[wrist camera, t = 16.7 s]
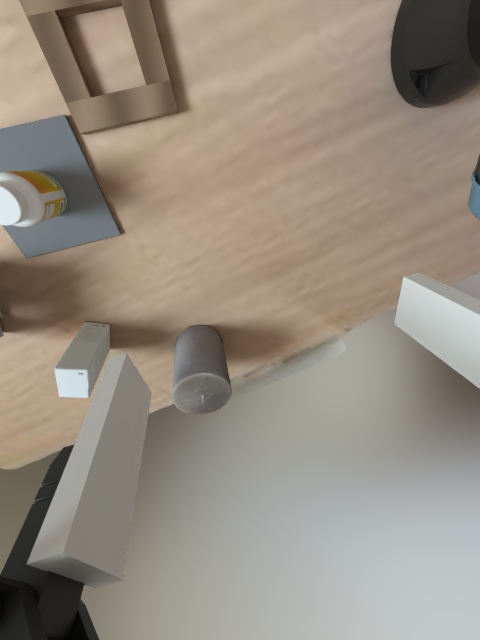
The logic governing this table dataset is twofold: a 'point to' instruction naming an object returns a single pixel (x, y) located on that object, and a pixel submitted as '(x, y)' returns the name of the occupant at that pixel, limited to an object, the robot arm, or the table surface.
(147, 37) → the socket block
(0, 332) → the bracket
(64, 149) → the mat
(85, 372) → the skincare box
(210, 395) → the pillar candle
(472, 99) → the table surface
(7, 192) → the supplement bottle
